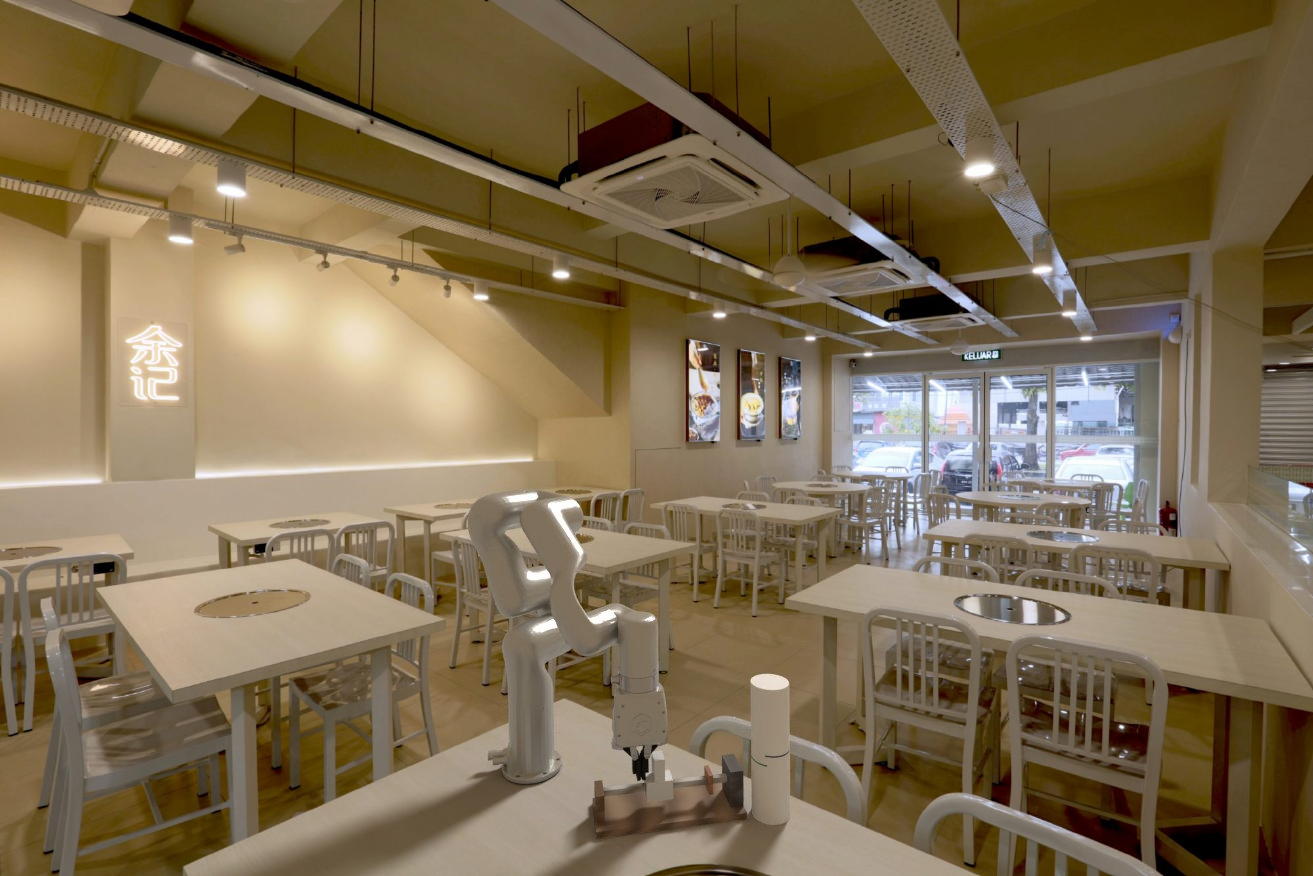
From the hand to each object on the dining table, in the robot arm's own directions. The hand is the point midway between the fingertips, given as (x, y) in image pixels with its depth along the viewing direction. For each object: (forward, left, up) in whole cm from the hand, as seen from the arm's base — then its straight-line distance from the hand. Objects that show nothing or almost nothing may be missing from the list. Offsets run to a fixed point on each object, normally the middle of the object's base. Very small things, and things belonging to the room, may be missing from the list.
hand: (640, 776), depth 113 cm
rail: (+5, 0, -7) cm, 9 cm away
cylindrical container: (+24, -4, -8) cm, 26 cm away
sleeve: (+3, 0, -4) cm, 5 cm away
